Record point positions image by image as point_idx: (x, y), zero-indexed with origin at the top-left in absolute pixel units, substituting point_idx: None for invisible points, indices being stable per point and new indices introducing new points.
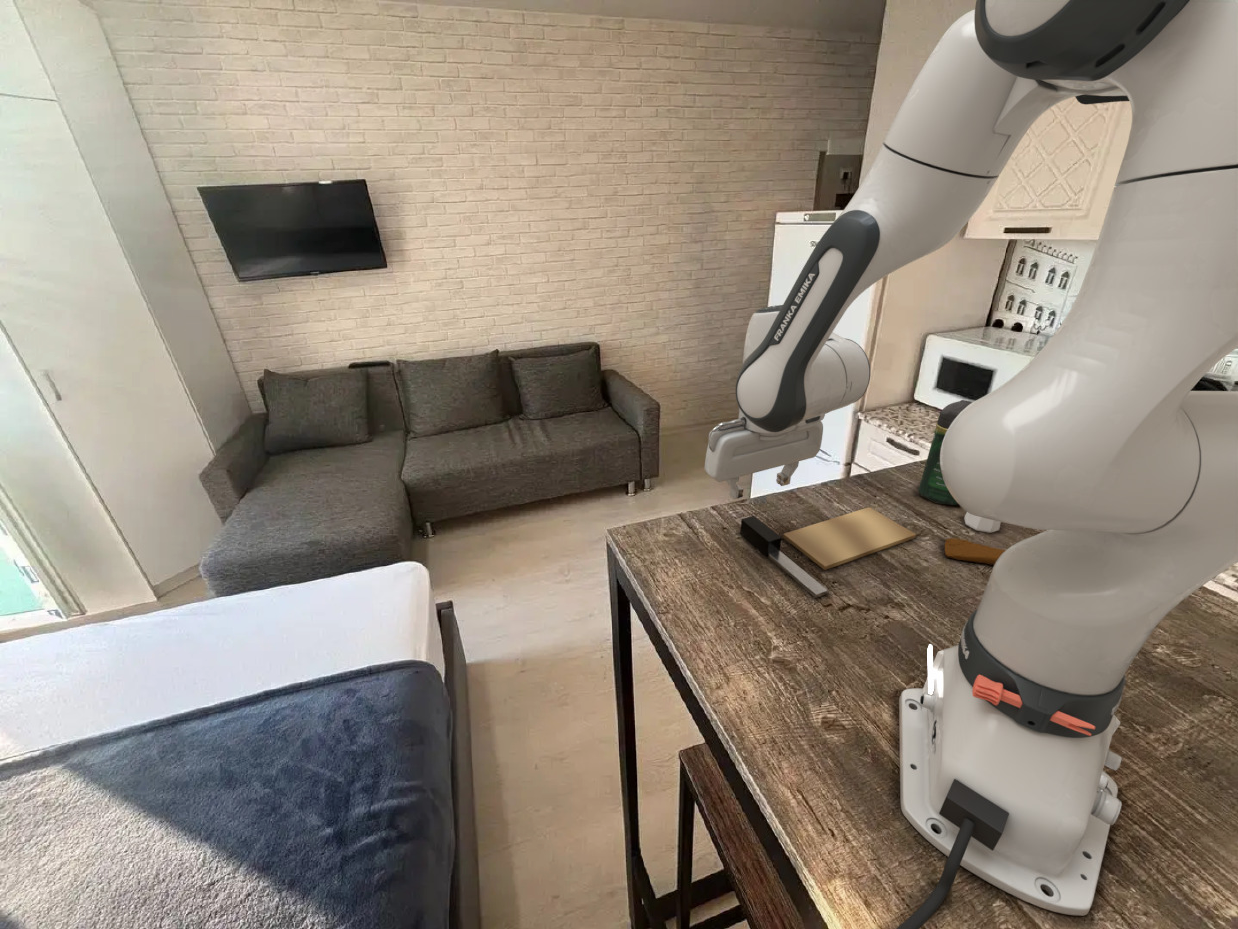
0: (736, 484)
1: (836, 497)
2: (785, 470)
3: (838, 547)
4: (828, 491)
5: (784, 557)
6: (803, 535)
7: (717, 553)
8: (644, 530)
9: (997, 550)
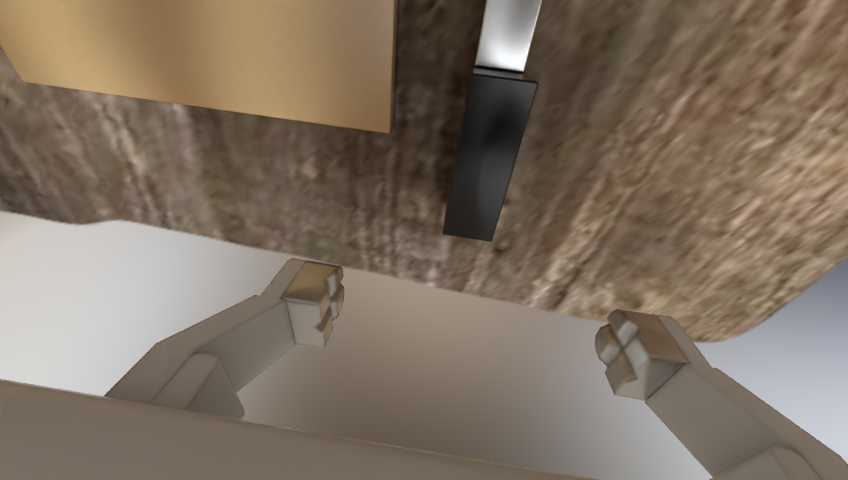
0: (764, 422)
1: (123, 186)
2: (268, 345)
3: None
4: (136, 216)
5: (498, 11)
6: (334, 85)
7: (620, 182)
8: None
9: None
